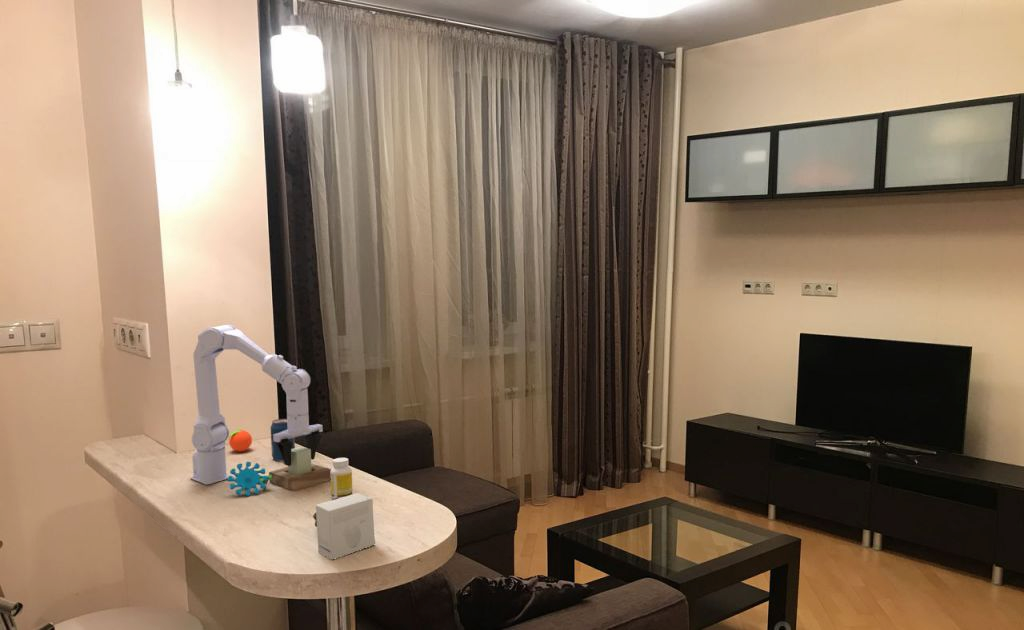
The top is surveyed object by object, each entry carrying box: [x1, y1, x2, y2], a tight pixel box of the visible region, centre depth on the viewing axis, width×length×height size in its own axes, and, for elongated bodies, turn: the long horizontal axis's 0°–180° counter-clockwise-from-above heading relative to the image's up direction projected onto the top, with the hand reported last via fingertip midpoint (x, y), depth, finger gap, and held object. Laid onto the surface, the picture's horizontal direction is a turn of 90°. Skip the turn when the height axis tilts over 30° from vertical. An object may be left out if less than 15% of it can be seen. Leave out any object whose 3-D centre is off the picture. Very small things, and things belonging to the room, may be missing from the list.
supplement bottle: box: [330, 457, 353, 500], centre depth 182 cm, size 5×5×10 cm
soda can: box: [270, 418, 296, 462], centre depth 218 cm, size 7×7×12 cm
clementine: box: [227, 429, 253, 453], centre depth 227 cm, size 8×7×7 cm
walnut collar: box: [268, 462, 332, 492], centre depth 196 cm, size 12×12×3 cm
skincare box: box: [315, 492, 376, 561], centre depth 149 cm, size 10×6×10 cm, turn 133°
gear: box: [227, 461, 272, 497], centre depth 188 cm, size 11×6×10 cm
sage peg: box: [287, 446, 312, 475], centre depth 196 cm, size 4×4×9 cm
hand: (299, 461), depth 195 cm, fingers open, 7 cm apart
